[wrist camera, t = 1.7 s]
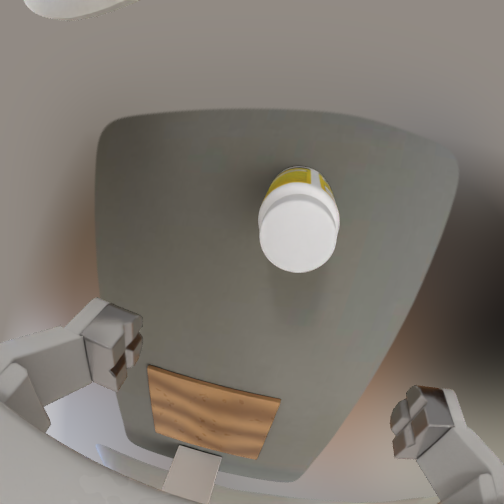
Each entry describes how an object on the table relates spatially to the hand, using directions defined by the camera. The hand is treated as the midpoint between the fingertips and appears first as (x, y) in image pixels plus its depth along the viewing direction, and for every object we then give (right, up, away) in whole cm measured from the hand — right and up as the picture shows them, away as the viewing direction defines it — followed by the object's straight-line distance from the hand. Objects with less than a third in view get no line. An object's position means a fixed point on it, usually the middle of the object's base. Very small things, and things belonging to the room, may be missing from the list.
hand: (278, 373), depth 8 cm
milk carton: (-9, -31, +35) cm, 48 cm away
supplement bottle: (+3, +8, +15) cm, 17 cm away
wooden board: (-6, -19, +29) cm, 35 cm away
